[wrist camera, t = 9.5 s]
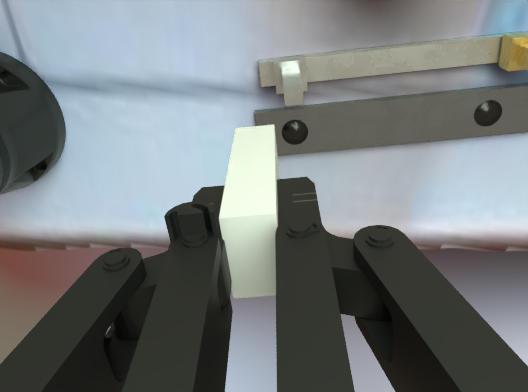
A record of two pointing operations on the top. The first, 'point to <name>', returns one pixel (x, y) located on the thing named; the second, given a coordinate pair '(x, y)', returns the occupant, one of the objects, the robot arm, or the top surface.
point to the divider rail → (375, 62)
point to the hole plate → (399, 119)
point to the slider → (514, 51)
